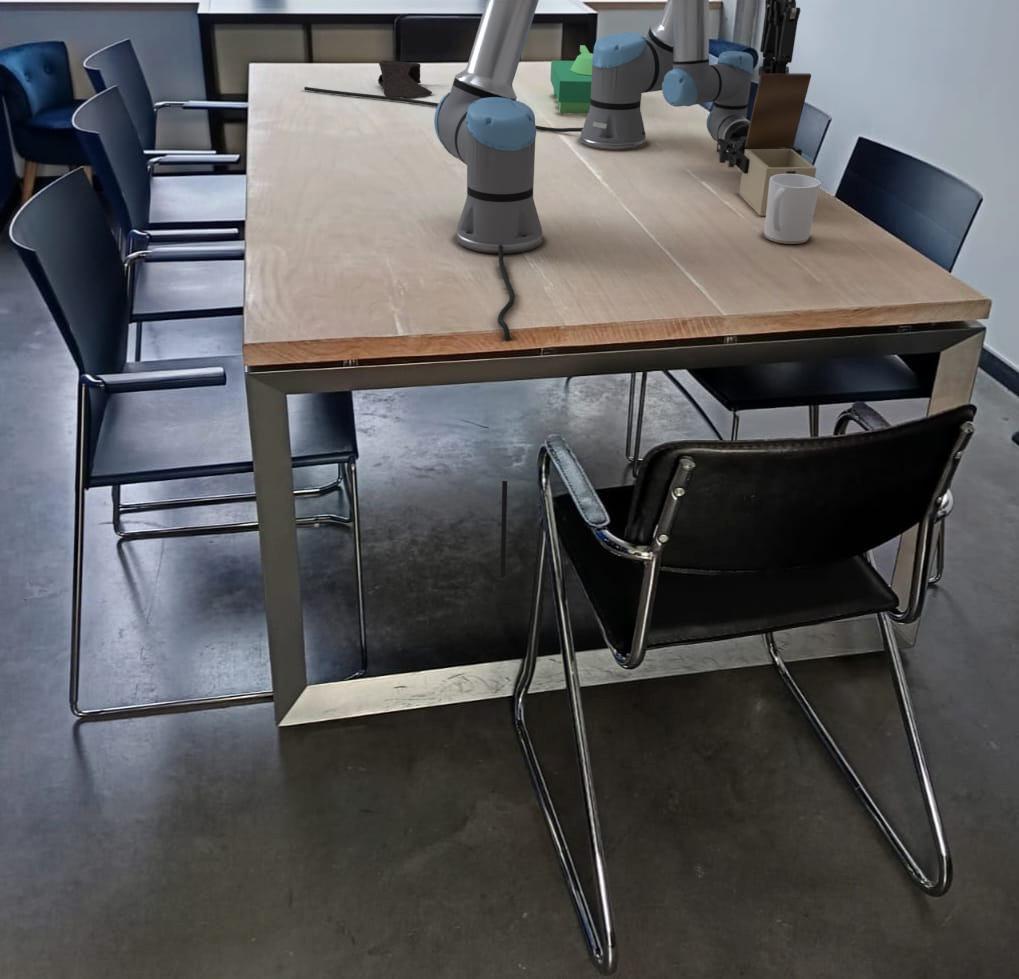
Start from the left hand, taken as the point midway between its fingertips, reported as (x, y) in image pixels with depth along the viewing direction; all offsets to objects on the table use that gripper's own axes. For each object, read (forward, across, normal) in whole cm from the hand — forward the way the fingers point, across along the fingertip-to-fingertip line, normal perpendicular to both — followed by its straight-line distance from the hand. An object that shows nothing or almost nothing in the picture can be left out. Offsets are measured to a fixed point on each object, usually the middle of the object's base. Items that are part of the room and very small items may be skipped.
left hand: (770, 95), depth 217 cm
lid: (+2, -6, 0) cm, 6 cm away
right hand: (+12, -7, 0) cm, 14 cm away
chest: (+19, -11, 0) cm, 22 cm away
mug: (+19, -32, +5) cm, 37 cm away
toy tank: (+19, +82, +22) cm, 86 cm away
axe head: (+19, +96, +71) cm, 120 cm away
